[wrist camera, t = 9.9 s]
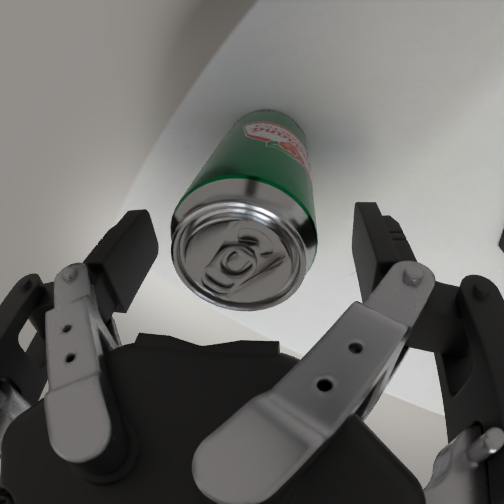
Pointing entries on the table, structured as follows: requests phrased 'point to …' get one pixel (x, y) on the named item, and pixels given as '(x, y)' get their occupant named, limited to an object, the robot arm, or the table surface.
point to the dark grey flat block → (502, 243)
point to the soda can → (248, 217)
